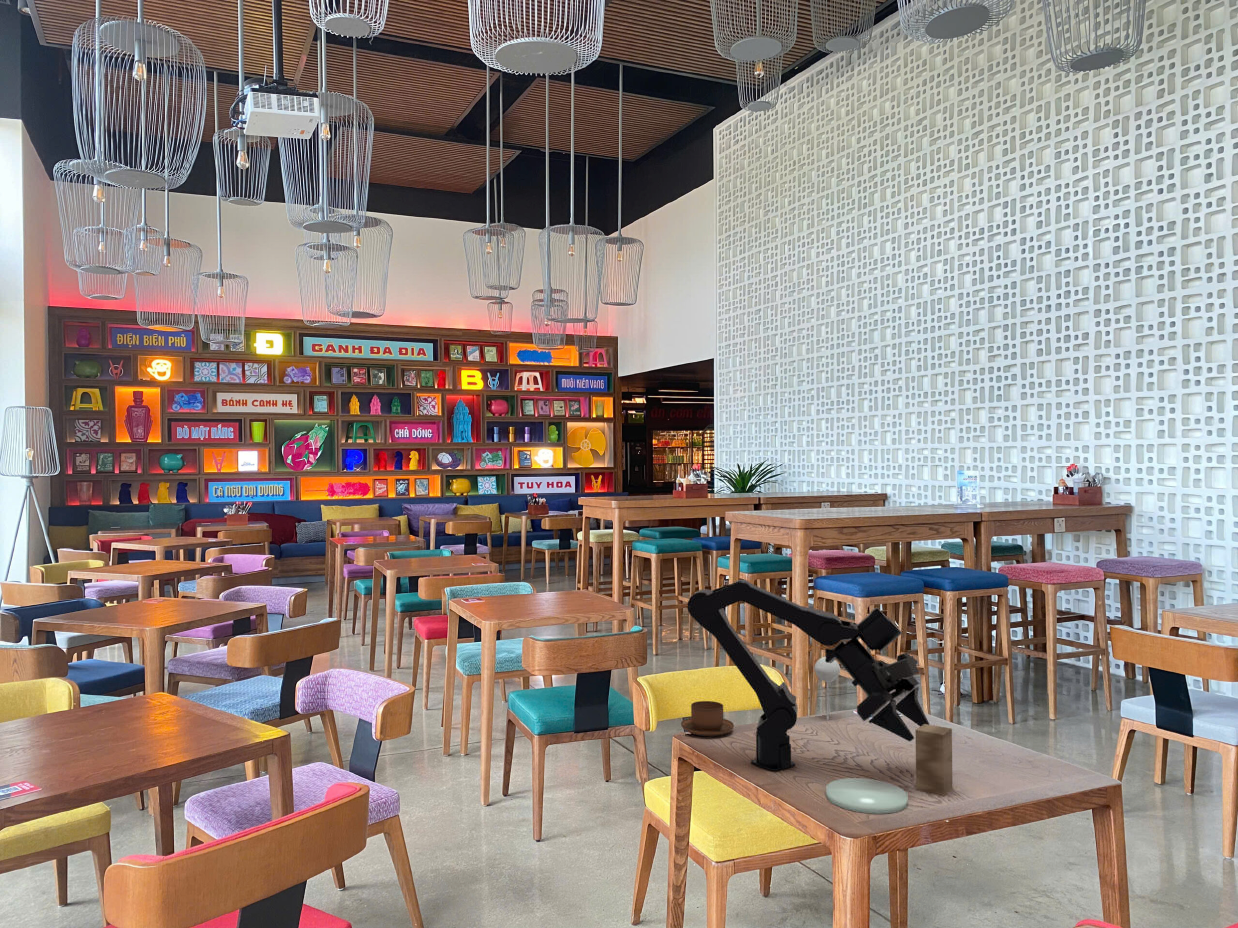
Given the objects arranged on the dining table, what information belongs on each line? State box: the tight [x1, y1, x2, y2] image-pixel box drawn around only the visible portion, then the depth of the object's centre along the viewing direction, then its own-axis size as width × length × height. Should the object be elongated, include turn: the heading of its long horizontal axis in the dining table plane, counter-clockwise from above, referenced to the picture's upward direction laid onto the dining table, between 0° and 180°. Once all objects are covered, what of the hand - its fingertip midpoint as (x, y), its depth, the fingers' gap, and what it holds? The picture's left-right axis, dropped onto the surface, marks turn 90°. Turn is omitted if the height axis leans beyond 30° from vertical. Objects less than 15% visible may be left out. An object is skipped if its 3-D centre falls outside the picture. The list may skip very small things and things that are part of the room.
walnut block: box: [915, 724, 954, 797], centre depth 152 cm, size 5×5×11 cm
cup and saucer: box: [680, 700, 735, 737], centre depth 189 cm, size 12×12×6 cm
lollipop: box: [813, 656, 841, 721], centre depth 199 cm, size 6×6×15 cm
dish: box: [825, 777, 909, 815], centre depth 148 cm, size 14×14×1 cm
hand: (920, 733), depth 154 cm, fingers open, 9 cm apart
